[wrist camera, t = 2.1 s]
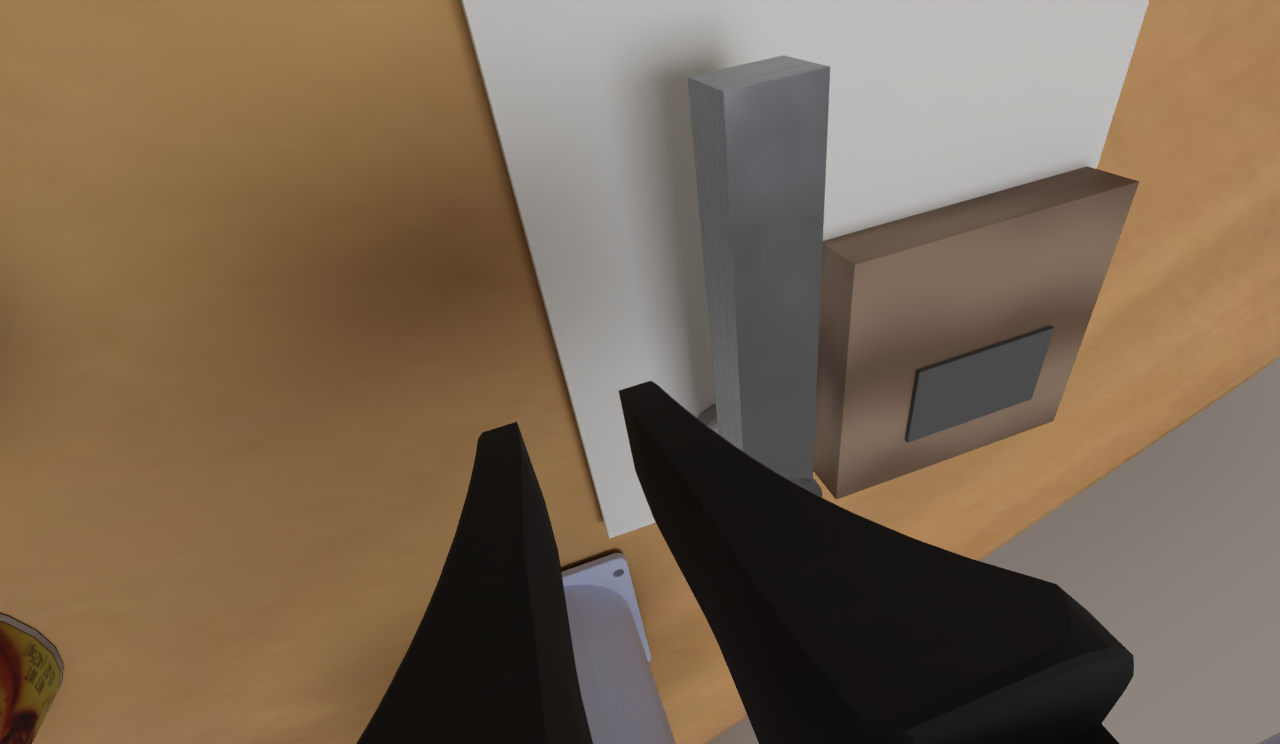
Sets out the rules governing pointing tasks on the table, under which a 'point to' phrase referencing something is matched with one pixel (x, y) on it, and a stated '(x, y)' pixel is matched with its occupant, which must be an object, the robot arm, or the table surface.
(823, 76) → the bar
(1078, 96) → the plate
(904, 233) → the door slab
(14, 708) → the canned food
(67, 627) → the table surface
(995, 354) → the pad
